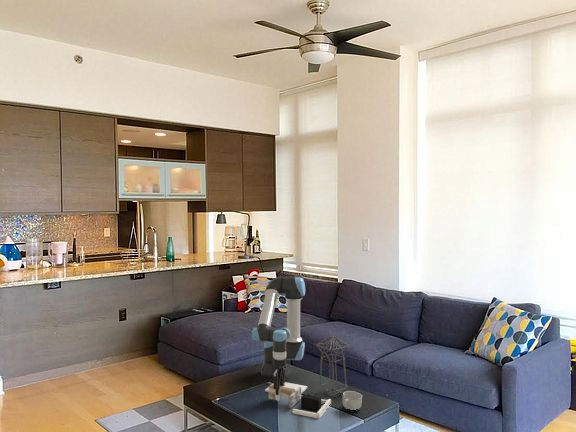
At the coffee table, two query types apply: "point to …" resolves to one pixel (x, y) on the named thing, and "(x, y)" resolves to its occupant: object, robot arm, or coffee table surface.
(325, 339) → the geometric lantern
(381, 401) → the coffee table surface
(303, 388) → the rest board
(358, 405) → the teacup
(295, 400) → the beige piece
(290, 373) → the coffee table surface
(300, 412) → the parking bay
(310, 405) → the digital camera
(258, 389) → the coffee table surface
